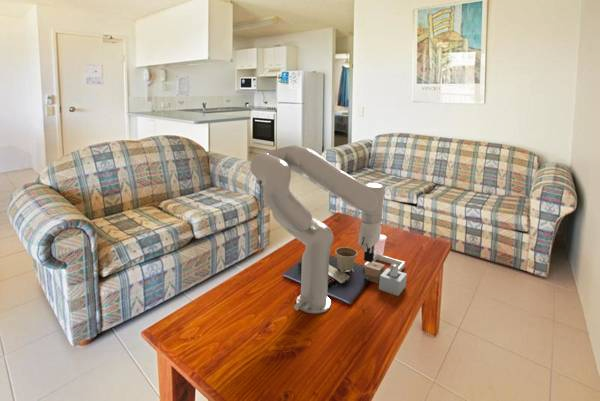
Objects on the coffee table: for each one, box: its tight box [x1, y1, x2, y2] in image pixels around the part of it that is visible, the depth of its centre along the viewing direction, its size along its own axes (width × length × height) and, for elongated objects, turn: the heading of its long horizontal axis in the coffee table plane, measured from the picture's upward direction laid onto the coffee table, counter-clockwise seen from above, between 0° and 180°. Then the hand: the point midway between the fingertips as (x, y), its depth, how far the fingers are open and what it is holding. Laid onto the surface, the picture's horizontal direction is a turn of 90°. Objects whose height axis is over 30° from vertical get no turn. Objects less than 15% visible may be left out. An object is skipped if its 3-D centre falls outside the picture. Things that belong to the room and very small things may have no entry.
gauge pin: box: [390, 264, 399, 279], centre depth 143 cm, size 3×3×10 cm
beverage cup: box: [373, 225, 387, 256], centre depth 172 cm, size 6×6×14 cm
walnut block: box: [364, 261, 386, 284], centre depth 151 cm, size 6×6×6 cm
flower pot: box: [335, 246, 358, 271], centre depth 156 cm, size 9×9×9 cm
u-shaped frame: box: [363, 254, 406, 272], centre depth 160 cm, size 13×14×2 cm
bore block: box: [378, 267, 408, 297], centre depth 144 cm, size 8×8×6 cm
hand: (368, 260), depth 141 cm, fingers closed
